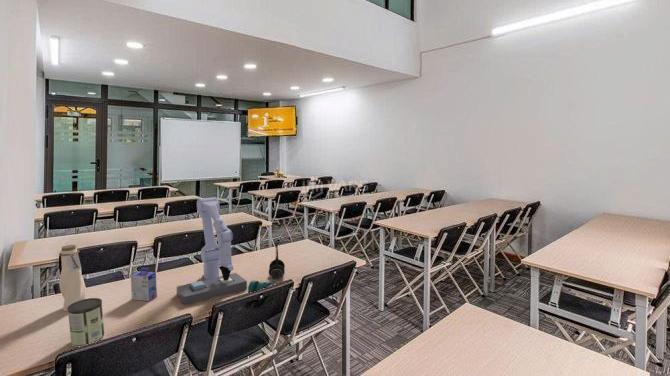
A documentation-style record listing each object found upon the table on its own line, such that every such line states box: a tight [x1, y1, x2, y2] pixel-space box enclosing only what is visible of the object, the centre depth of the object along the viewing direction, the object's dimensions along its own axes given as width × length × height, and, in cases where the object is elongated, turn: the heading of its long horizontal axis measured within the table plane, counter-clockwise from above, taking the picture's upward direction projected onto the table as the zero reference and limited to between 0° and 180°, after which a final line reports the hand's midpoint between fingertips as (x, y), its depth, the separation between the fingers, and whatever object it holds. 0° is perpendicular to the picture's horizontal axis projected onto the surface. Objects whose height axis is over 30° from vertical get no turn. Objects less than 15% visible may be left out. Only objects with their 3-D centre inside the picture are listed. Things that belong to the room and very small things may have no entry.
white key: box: [220, 277, 233, 284], centre depth 173 cm, size 5×5×3 cm
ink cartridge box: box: [130, 266, 158, 302], centre depth 160 cm, size 10×6×14 cm, turn 79°
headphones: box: [268, 240, 286, 280], centre depth 188 cm, size 9×15×20 cm, turn 8°
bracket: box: [247, 279, 277, 294], centre depth 168 cm, size 18×7×8 cm, turn 162°
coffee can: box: [67, 297, 106, 348], centre depth 125 cm, size 10×10×14 cm
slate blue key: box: [191, 280, 205, 291], centre depth 164 cm, size 5×5×3 cm
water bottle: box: [58, 244, 87, 312], centre depth 149 cm, size 10×9×28 cm
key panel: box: [176, 272, 248, 306], centre depth 168 cm, size 14×30×4 cm, turn 129°
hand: (226, 279), depth 172 cm, fingers closed, pressing on white key
